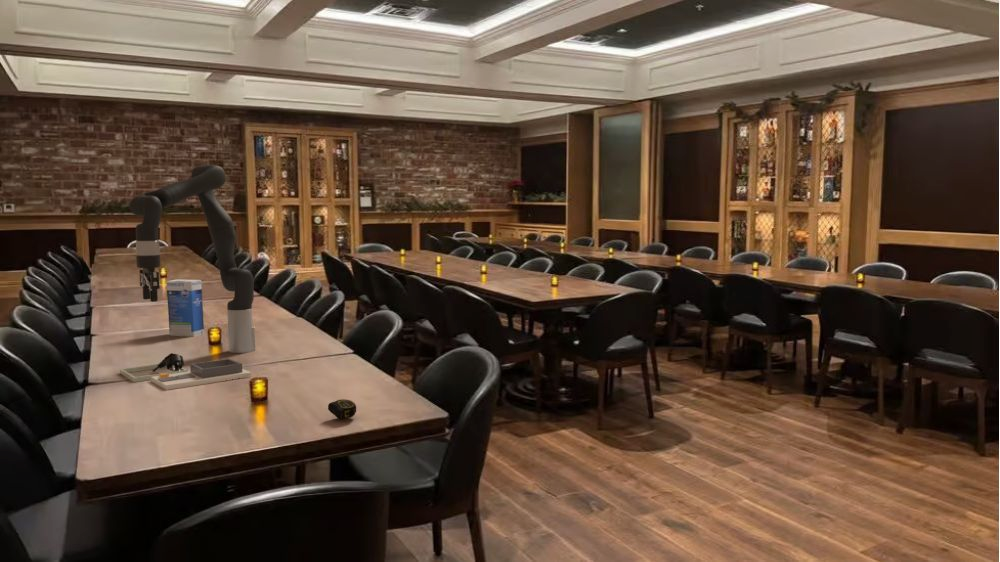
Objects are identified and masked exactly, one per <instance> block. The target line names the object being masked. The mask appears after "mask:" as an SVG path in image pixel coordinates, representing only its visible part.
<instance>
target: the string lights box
mask: <svg viewBox="0 0 1000 562" xmlns="http://www.w3.org/2000/svg"><path fill="white" fill-rule="evenodd" d="M202 288H203V286H202V280H201V279H173V280H172V279H171V280H166V295H167V311H168V312H167V313H168V327H169V336H171V337H175V336H176V337H189V338H191V337H192V338H194V337H197V336H201V335H205V328H204V327H205V326H204V308H203V307H204V306H203V304H204V303H203V289H202Z"/></svg>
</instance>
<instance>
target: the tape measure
mask: <svg viewBox="0 0 1000 562" xmlns="http://www.w3.org/2000/svg"><path fill="white" fill-rule="evenodd" d="M327 410H328V411H329V412H330V413H331V414H332V415H333V416H334V417H336V419H338V420H344V419H351V418H352V417H354V416H355V415H356V413H357V405H356V403H355V402H354V401H353V400H350V399H343V398H342V399H338V400H334V401H331V402H330V403H328V405H327Z"/></svg>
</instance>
